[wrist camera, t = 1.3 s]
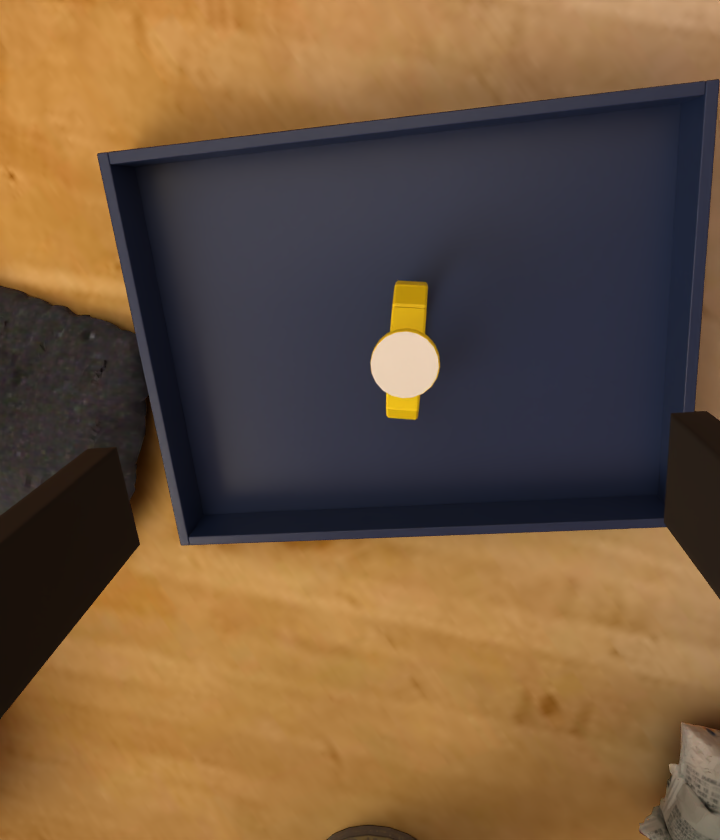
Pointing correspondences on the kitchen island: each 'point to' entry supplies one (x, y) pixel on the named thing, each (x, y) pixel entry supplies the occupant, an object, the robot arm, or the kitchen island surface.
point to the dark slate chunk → (64, 393)
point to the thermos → (370, 834)
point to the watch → (406, 353)
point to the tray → (445, 317)
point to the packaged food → (690, 791)
